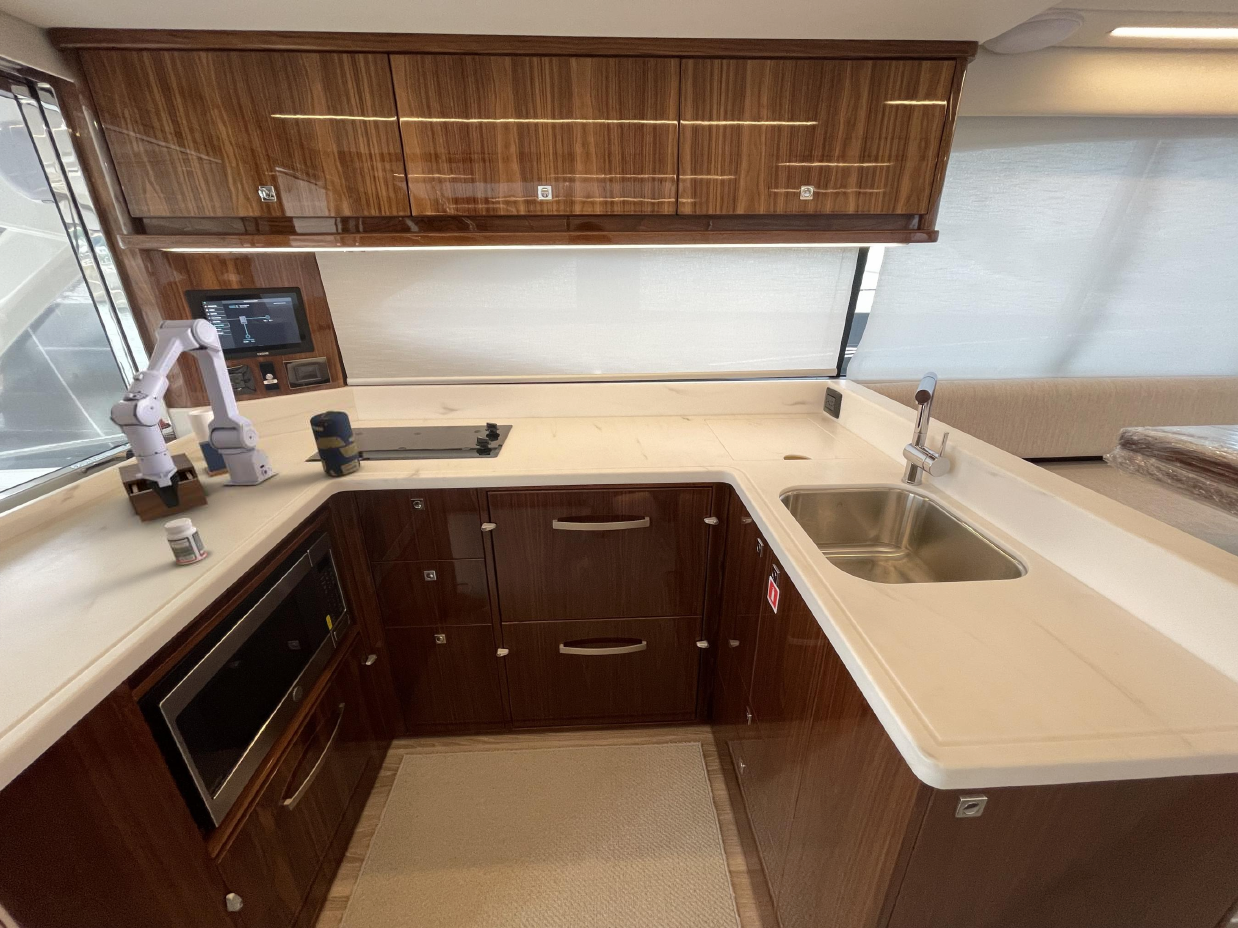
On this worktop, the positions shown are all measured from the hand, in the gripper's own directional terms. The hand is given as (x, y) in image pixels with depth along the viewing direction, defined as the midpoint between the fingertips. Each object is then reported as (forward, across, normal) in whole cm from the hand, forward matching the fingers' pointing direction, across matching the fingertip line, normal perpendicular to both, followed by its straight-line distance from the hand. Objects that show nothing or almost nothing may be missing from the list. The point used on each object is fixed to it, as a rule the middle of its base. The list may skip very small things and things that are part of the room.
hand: (173, 506), depth 118 cm
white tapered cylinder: (+4, -49, +15) cm, 51 cm away
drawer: (+3, -9, 0) cm, 9 cm away
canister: (+4, 0, +37) cm, 37 cm away
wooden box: (+3, -20, 0) cm, 20 cm away
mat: (+3, -33, +16) cm, 37 cm away
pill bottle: (+4, +26, -1) cm, 26 cm away
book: (+3, -33, +15) cm, 37 cm away
